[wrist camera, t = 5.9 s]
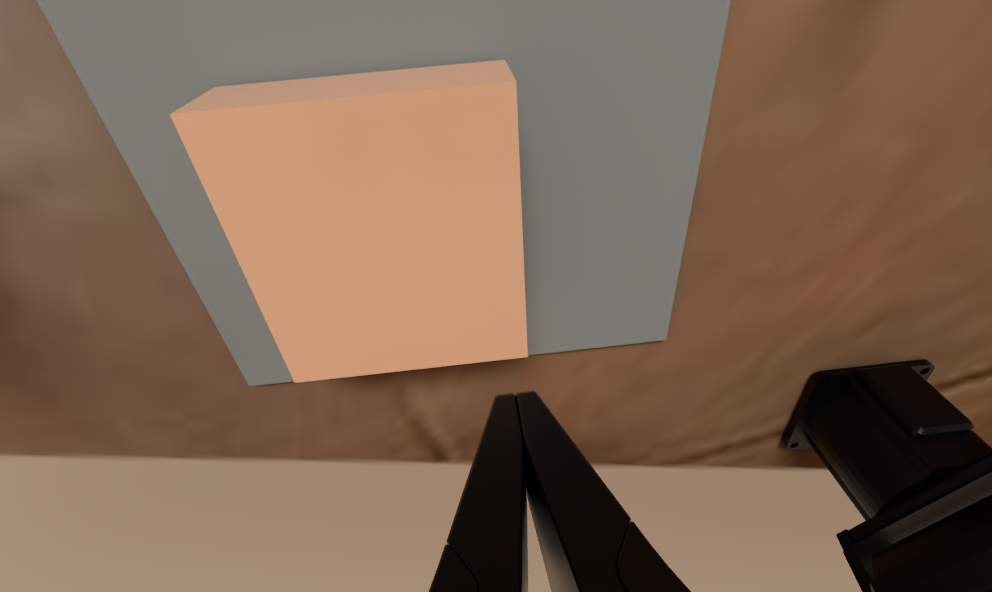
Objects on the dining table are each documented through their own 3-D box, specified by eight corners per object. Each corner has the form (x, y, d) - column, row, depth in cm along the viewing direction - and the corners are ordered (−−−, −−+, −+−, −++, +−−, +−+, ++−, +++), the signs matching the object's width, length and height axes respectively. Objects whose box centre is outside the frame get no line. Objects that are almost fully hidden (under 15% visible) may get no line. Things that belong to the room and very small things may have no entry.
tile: (527, 357, 18) (294, 382, 18) (517, 306, 21) (313, 328, 21) (516, 81, 12) (169, 114, 12) (504, 58, 15) (217, 85, 15)
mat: (662, 334, 23) (666, 340, 23) (251, 380, 23) (249, 386, 22) (739, -82, 14) (746, -82, 13) (36, -20, 13) (25, -19, 13)
